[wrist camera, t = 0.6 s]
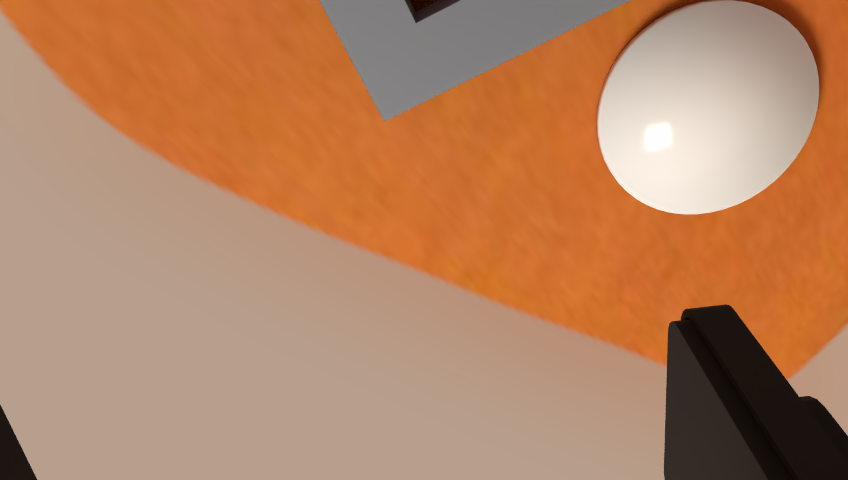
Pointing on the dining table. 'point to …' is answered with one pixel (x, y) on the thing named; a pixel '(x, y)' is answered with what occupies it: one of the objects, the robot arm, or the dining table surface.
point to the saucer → (707, 106)
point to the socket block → (444, 40)
